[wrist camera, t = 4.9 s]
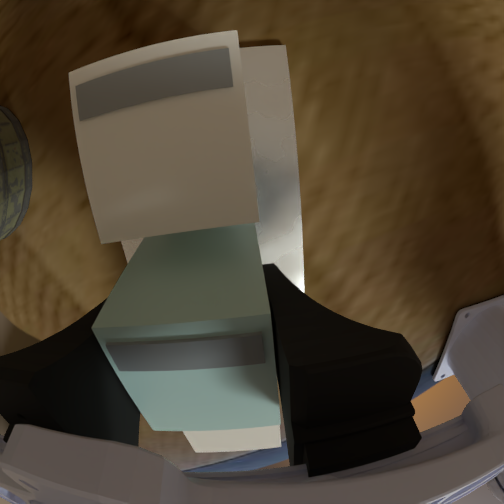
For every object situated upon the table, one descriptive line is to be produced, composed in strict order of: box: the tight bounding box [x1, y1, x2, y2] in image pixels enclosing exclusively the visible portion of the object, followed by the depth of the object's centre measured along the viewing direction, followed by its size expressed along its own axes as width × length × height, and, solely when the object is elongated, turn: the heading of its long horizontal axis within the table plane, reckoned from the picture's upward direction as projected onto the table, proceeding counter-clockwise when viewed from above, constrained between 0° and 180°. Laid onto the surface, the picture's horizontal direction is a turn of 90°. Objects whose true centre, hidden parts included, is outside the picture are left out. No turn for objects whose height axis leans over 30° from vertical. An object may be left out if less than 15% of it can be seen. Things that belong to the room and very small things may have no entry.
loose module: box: [92, 223, 281, 431], centre depth 10 cm, size 4×5×6 cm
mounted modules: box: [69, 30, 281, 452], centre depth 11 cm, size 4×17×5 cm, turn 6°
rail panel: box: [121, 45, 304, 376], centre depth 14 cm, size 9×19×1 cm, turn 6°
